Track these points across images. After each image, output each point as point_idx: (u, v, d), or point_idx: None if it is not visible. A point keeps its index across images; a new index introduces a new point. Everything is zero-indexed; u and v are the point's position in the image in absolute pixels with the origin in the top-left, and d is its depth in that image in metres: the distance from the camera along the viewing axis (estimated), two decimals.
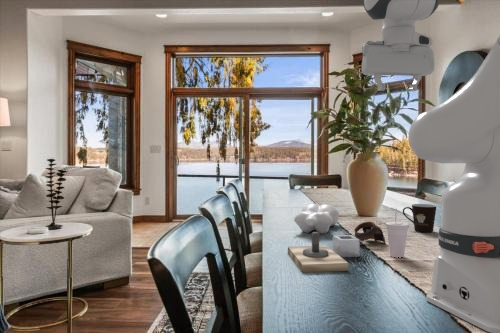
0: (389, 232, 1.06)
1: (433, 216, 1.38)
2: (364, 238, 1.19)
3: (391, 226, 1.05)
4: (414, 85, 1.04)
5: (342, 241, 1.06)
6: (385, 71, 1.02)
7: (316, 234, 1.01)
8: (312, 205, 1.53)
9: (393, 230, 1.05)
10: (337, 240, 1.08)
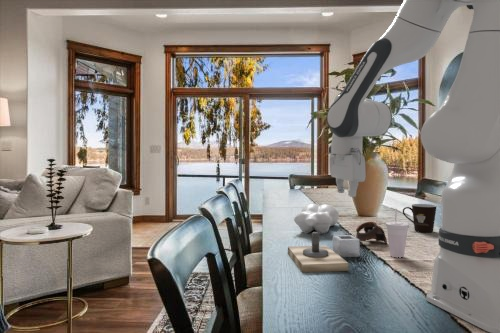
0: (389, 232, 1.06)
1: (433, 216, 1.38)
2: (366, 239, 1.19)
3: (391, 226, 1.05)
4: None
5: (342, 241, 1.06)
6: None
7: (316, 234, 1.01)
8: (312, 205, 1.53)
9: (393, 230, 1.05)
10: (337, 240, 1.08)
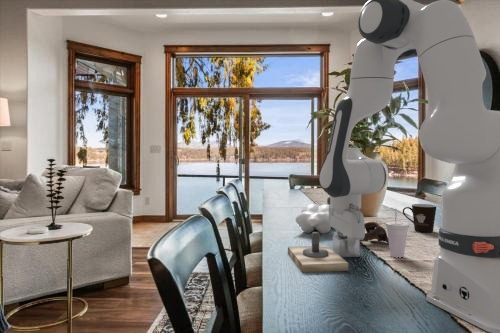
0: (389, 232, 1.06)
1: (433, 216, 1.38)
2: (368, 239, 1.18)
3: (391, 226, 1.05)
4: None
5: (342, 241, 1.06)
6: None
7: (316, 234, 1.01)
8: (312, 205, 1.52)
9: (393, 230, 1.05)
10: (337, 240, 1.08)
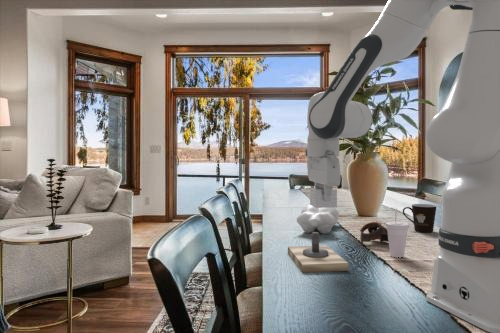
0: (389, 232, 1.06)
1: (433, 216, 1.38)
2: (370, 239, 1.18)
3: (391, 226, 1.05)
4: None
5: (318, 191, 1.00)
6: None
7: (316, 234, 1.01)
8: None
9: (393, 230, 1.05)
10: (313, 190, 1.02)
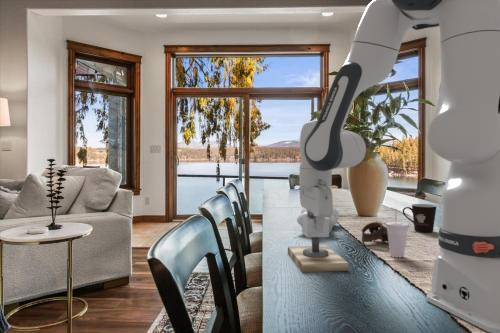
0: (389, 232, 1.06)
1: (433, 216, 1.38)
2: (372, 239, 1.18)
3: (391, 226, 1.05)
4: None
5: (310, 220, 0.99)
6: None
7: None
8: None
9: (393, 230, 1.05)
10: (305, 219, 1.01)
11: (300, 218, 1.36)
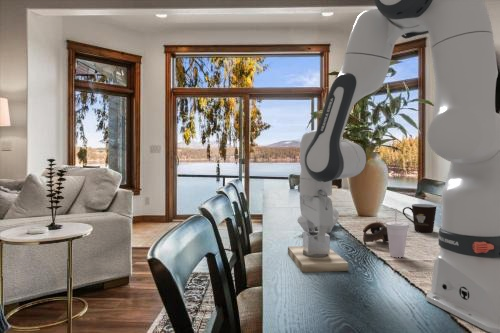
0: (389, 232, 1.06)
1: (433, 216, 1.38)
2: (373, 239, 1.18)
3: (391, 226, 1.05)
4: None
5: (311, 237, 0.99)
6: None
7: (316, 234, 1.01)
8: None
9: (393, 230, 1.05)
10: (306, 236, 1.01)
11: (300, 218, 1.36)
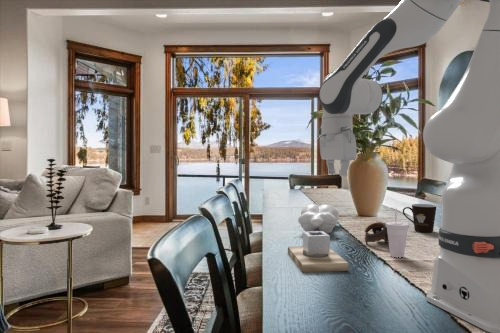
0: (389, 232, 1.06)
1: (433, 216, 1.38)
2: (375, 239, 1.17)
3: (391, 226, 1.05)
4: None
5: (311, 237, 0.99)
6: None
7: (316, 234, 1.01)
8: (312, 205, 1.52)
9: (393, 230, 1.05)
10: (306, 236, 1.01)
11: (301, 218, 1.36)
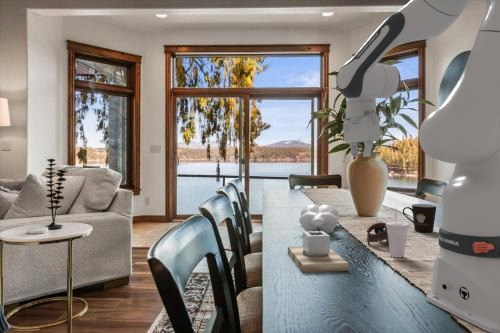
0: (389, 232, 1.06)
1: (433, 216, 1.38)
2: (377, 240, 1.17)
3: (391, 226, 1.05)
4: None
5: (311, 237, 0.99)
6: None
7: (316, 234, 1.01)
8: (312, 205, 1.52)
9: (393, 230, 1.05)
10: (306, 236, 1.01)
11: (302, 218, 1.35)
